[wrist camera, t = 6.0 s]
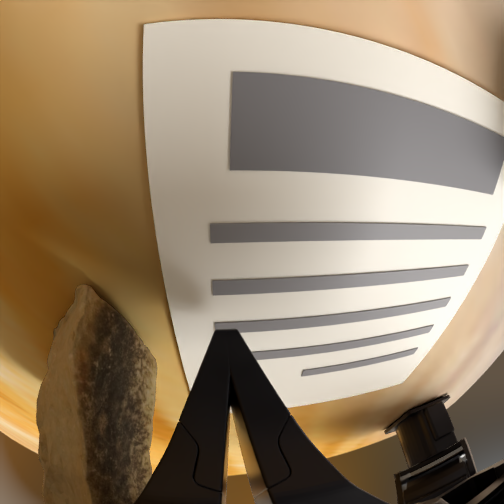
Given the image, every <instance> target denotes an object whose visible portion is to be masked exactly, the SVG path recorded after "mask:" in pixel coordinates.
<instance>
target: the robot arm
mask: <svg viewBox="0 0 504 504" xmlns="http://www.w3.org/2000/svg"><path fill="white" fill-rule="evenodd" d="M449 398H450V396H449V395H447V396H444V397H442V398H440V399H438V400H435V401H433V402H430V403H428V404H425V405H423V406H420V407H418V408H415V409H413V410H410V411H408V412H407V413H406V414H404V415H403V416H402V417H401V418H400V419H399V420H397V421H396V422H395V423H394V424H393V425H391V426H390V427H389V428H388V429H386V430H385V431H384V432H385V434H388V433H391V432H394V431H396V433H397V435H398V439H399V442H400V444H401V447H402V450H403V453H404V456H405V459H406V462H407V466H408V468H409V469H406V470H403V471H400V472H398V473H396V474H394V477H395V483H396V489H397V501H398V502H397V503H398V504H504V459H503V460H501V461H499V462H498V463H496V464H494V465H492V466H490V467H488V468H486V469H484V470H482V471H480V472H478V473H477V469H476V466H475V463H474V459H473V456H472V453H471V450H470V448H469V445H468V443H467V440H466V438H463V439H461V440H460V442H458V441H457V439H456V436H455V433H454V427H453V424H452V422H451V420H450V417H449V415H448V413H447V410H446V408H445V406H444V403H445V402H446V401H447V400H448V399H449ZM230 409H231V410H232V414H233V419H234V423H235V427H236V431H237V436H238V440H239V444H240V448H241V452H242V456H243V460H244V464H245V468H246V472H247V475H248V479H249V483H250V486H251V490H252V494H253V497H254V501H255V504H389V503H387V502H385V501H383V500H381V499H379V498H377V497H375V496H373V495H371V494H369V493H367V492H366V491H364V490H362V489H360V488H358V487H357V486H355V485H354V484H353V483H351V482H350V481H349V480H348V479H346V478H345V477H344V476H343V475H342V474H341V473H340V472H339V471H338V470H337V469H336V468H335V467H334V466H333V465H332V464H331V463H330V462H329V461H328V460H327V459H326V457H325V456H324V455H323V454H322V453H321V452H320V451H319V450H318V449H317V448H316V447H315V445H314V444H313V443H312V442H311V441H310V440H309V438H308V437H307V436H306V435H305V433H304V432H303V430H302V429H301V428H300V426H299V425H298V424H297V422H296V421H295V419H294V418H293V416H292V415H290V412H289V410H288V409H287V407H286V406H285V404H284V403H283V401H282V400H281V398H280V397H279V395H278V393H277V392H276V390H275V389H274V387H273V386H272V384H271V383H270V381H269V379H268V378H267V376H266V375H265V373H264V371H263V370H262V368H261V367H260V365H259V363H258V362H257V360H256V359H255V357H254V355H253V354H252V352H251V350H250V349H249V347H248V345H247V344H246V342H245V341H244V339H243V337H242V336H241V334H240V332H239V331H238V330H237V329H235V328H234V329H216V330H215V331H214V333H213V336H212V338H211V341H210V343H209V346H208V348H207V351H206V353H205V356H204V358H203V361H202V363H201V366H200V368H199V371H198V373H197V376H196V378H195V381H194V383H193V386H192V388H191V391H190V393H189V396H188V398H187V401H186V404H185V406H184V409H183V411H182V414H181V416H180V419H179V421H180V422H178V423H177V426H176V428H175V431H174V433H173V436H172V438H171V440H170V443H169V445H168V447H167V449H166V451H165V453H164V455H163V457H162V458H161V460H160V462H159V464H158V466H157V467H156V469H155V471H154V472H153V474H152V476H151V477H150V479H149V481H148V483H147V484H146V486H145V488H144V489H143V491H142V492H141V494H140V495H139V497H138V498H137V500H136V501H135V502H134V503H133V504H226V490H227V468H228V448H229V428H230ZM457 442H458V443H457ZM455 443H456V444H455ZM454 444H455V445H454ZM452 445H453V446H452ZM460 446H462V447H463V449H462V450H461V451H459V452H457V453H456V454H454V455H452V456H450V457H449V458H447V459H445V460H443V461H442V462H439V463H437V464H436V465H434V466H432V467H430V468H428V469H426V470H423V471H421V472H419V473H417V474H415V475H413V476H411V474H410V473H411V472H413V471H415V470H417V469H419V468H422V467H424V466H426V465H428V464H430V463H432V462H434V461H435V460H437V459H439V458H441V457H443V456H445V455H447V454H448V453H450V452H452V451H454V450H455V449H457V448H459V447H460ZM449 447H450V448H449ZM447 448H448V449H447ZM464 456H466V459H467V460H465V461H462V459H461V458H462V457H464ZM412 466H413V467H412ZM410 467H411V468H410Z"/></svg>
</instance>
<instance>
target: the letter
mask: <svg viewBox="0 0 504 504" xmlns="http://www.w3.org/2000/svg"><path fill="white" fill-rule="evenodd" d="M143 103H144V125H145V141H146V154H147V165H148V176H149V185H150V194H151V202H152V210H153V217H154V225H155V231H156V238H157V244H158V251H159V257H160V262H161V268H162V274H163V279H164V284H165V289H166V294H167V299H168V304H169V309H170V313H171V318H172V322H173V327H174V331H175V335H176V339H177V344H178V348H179V352H180V355H181V359H182V363H183V367H184V371H185V374H186V378H187V382H188V385H189V389H190V391H191V388H192V386H193V383H194V381H195V378H196V376H197V373H198V371H199V368H200V366H201V363H202V361H203V358H204V356H205V353H206V351H207V348H208V346H209V343H210V341H211V338H212V336H213V333H214V331H215V330H216V329H234V328H235V329H237V330H238V331H239V332H240V334H241V336H242V337H243V339H244V341H245V342H246V344H247V345H248V347H249V349H250V350H251V352H252V354H253V355H254V357H255V359H256V360H257V362H258V363H259V365H260V367H261V368H262V370H263V371H264V373H265V375H266V376H267V378H268V379H269V381H270V383H271V384H272V386H273V387H274V389H275V390H276V392H277V393H278V395H279V397H280V398H281V400H282V401H283V403H284V404H285V406H286V407H287V408H289V407H296V406H303V405H309V404H315V403H321V402H327V401H332V400H337V399H342V398H347V397H351V396H356V395H360V394H364V393H368V392H372V391H376V390H380V389H383V388H387V387H391V386H394V385H398V384H401V383H403V382H404V381H405V380H406V379H407V377H408V376H409V375H410V374H411V373H412V372H413V370H414V369H415V368H416V367H417V365H418V364H419V363H420V362H421V361H422V359H423V358H424V357H425V355H426V354H427V353H428V352H429V350H430V349H431V348H432V346H433V345H434V344H435V342H436V341H437V340H438V338H439V337H440V335H441V334H442V333H443V331H444V330H445V328H446V327H447V325H448V324H449V322H450V321H451V320H452V318H453V317H454V315H455V313H456V312H457V310H458V309H459V307H460V306H461V304H462V302H463V301H464V299H465V298H466V296H467V294H468V293H469V291H470V289H471V287H472V286H473V284H474V282H475V280H476V279H477V277H478V275H479V273H480V271H481V269H482V268H483V266H484V264H485V262H486V260H487V258H488V256H489V254H490V252H491V250H492V248H493V245H494V243H495V241H496V239H497V237H498V235H499V232H500V230H501V228H502V225H503V223H504V102H503V101H502V100H500V99H499V98H497V97H496V96H494V95H492V94H491V93H489V92H487V91H486V90H484V89H482V88H481V87H479V86H477V85H475V84H474V83H472V82H470V81H468V80H466V79H464V78H462V77H460V76H459V75H457V74H455V73H453V72H450V71H448V70H446V69H444V68H442V67H440V66H438V65H435V64H433V63H431V62H429V61H426V60H424V59H421V58H419V57H416V56H414V55H411V54H409V53H406V52H403V51H401V50H398V49H395V48H392V47H389V46H386V45H383V44H380V43H377V42H373V41H370V40H366V39H363V38H359V37H355V36H351V35H347V34H343V33H339V32H334V31H330V30H325V29H320V28H314V27H308V26H302V25H296V24H288V23H280V22H270V21H259V20H241V19H197V20H179V21H168V22H158V23H150V24H144V35H143ZM230 413H232V410H231V409H230Z"/></svg>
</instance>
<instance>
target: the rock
mask: <svg viewBox="0 0 504 504" xmlns="http://www.w3.org/2000/svg"><path fill="white" fill-rule="evenodd" d="M47 363H48V372H47V375H46V376H45V378H44V380H43V382H42V384H41V387H40V390H39V394H38V398H37V413H36V421H37V426H38V429H39V433H40V435H39V449H38V454H39V460H40V462H41V465H42V468H43V470H44V480H43V498H44V502H45V504H133V503H134V502H135V501H136V500H137V498H138V497H139V495H140V494H141V492H142V491H143V489H144V488H145V486H146V484H147V483H148V481H149V479H150V477H151V476H152V467H151V463H150V453H149V450H150V446H151V440H152V431H153V423H152V422H153V415H154V406H155V393H156V375H157V364H156V359H155V358H154V357H153V355H152V354H151V353H150V351H149V349H148V348H147V347H146V346H145V345H144V343H143V342H142V340H141V339H140V338H139V337H138V336H137V334H136V333H135V331H134V330H133V328H132V327H131V326H130V324H129V323H128V322H127V321H126V320H125V319H124V318H123V317H122V316H121V315H120V314H119V313H118V312H117V311H116V310H115V309H114V308H113V307H112V306H111V305H109V304H108V303H107V302H106V301H104V300H102V299H101V298H100V297H99V296H98V295H97V294H96V293H95V291H94V290H93V289H92V287H91V286H89V285H85V284H82V285H79V286H78V287H77V288H76V290H75V300H74V303H73V304H72V306H71V307H70V308H69V310H68V311H67V313H66V315H65V317H64V318H62V319H61V320H60V322H59V324H58V327H57V328H54V337H53V343H52V346H51V349H50V352H49V355H48V359H47Z"/></svg>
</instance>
